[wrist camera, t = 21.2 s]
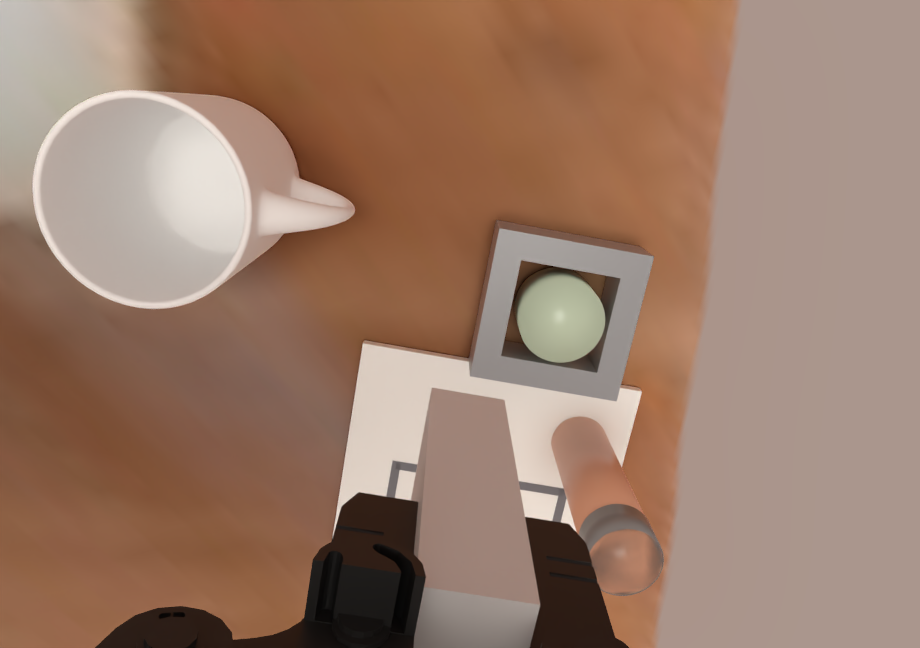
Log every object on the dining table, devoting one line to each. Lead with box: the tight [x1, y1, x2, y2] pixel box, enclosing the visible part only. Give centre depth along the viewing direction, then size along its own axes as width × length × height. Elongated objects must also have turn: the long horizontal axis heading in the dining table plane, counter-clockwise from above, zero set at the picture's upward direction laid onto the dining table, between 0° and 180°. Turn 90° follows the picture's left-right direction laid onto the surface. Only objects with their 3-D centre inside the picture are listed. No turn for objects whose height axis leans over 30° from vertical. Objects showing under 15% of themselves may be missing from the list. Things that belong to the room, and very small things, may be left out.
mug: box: [32, 90, 355, 309], centre depth 35 cm, size 9×12×11 cm
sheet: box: [332, 340, 642, 538], centre depth 44 cm, size 16×13×1 cm
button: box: [514, 267, 605, 363], centre depth 40 cm, size 4×4×3 cm
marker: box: [551, 417, 664, 596], centre depth 38 cm, size 3×3×12 cm
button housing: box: [469, 220, 654, 401], centre depth 40 cm, size 8×8×3 cm
